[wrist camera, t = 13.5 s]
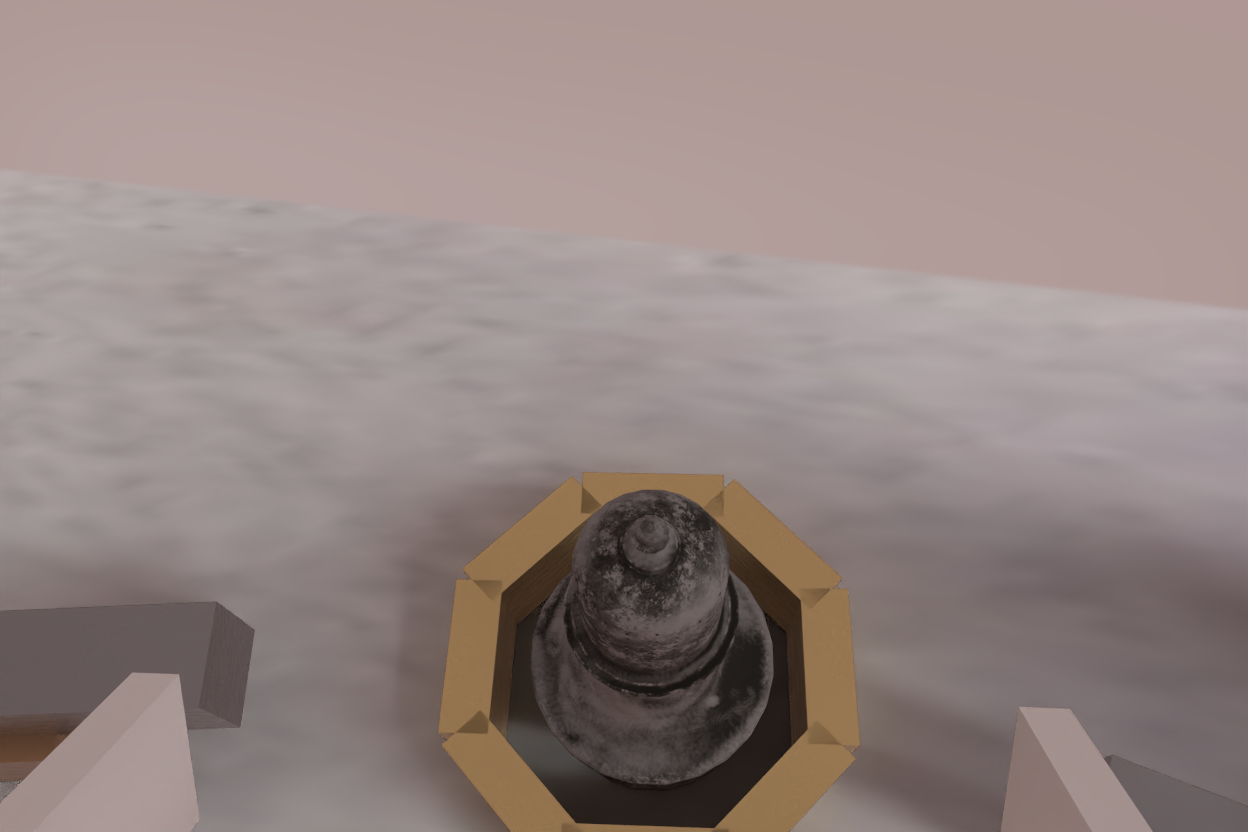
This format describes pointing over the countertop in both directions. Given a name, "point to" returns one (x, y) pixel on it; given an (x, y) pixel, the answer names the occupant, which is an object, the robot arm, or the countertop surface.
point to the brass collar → (542, 557)
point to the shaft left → (112, 669)
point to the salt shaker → (651, 646)
